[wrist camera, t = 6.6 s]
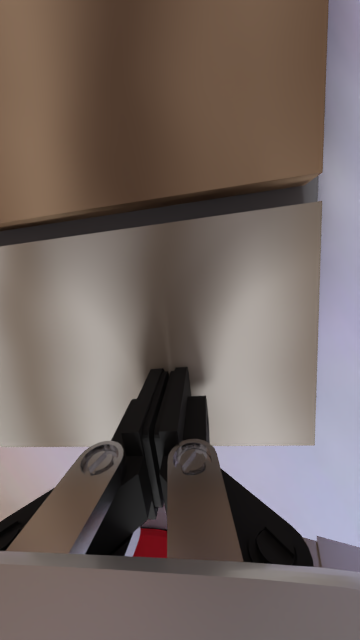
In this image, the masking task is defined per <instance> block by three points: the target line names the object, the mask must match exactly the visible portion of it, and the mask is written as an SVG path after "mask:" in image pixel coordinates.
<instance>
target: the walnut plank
mask: <svg viewBox="0 0 360 640" xmlns="http://www.w3.org/2000/svg"><path fill="white" fill-rule="evenodd" d="M328 2H329V0H0V231H6V230H13V229H19V228H26V227H32V226H39V225H46V224H52V223H59V222H65V221H72V220H79V219H85V218H92V217H99V216H105V215H112V214H118V213H125V212H132V211H138V210H145V209H151V208H158V207H165V206H171V205H178V204H184V203H191V202H198V201H204V200H211V199H217V198H224V197H231V196H237V195H244V194H250V193H257V192H264V191H270V190H277V189H284V188H290V187H297V186H303V185H306V184H307V183H308V182H310V181H311V180H313V179H314V178H315V177H317V176H318V175H319V174H321V173H322V169H323V141H324V113H325V85H326V57H327V29H328Z"/></svg>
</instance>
